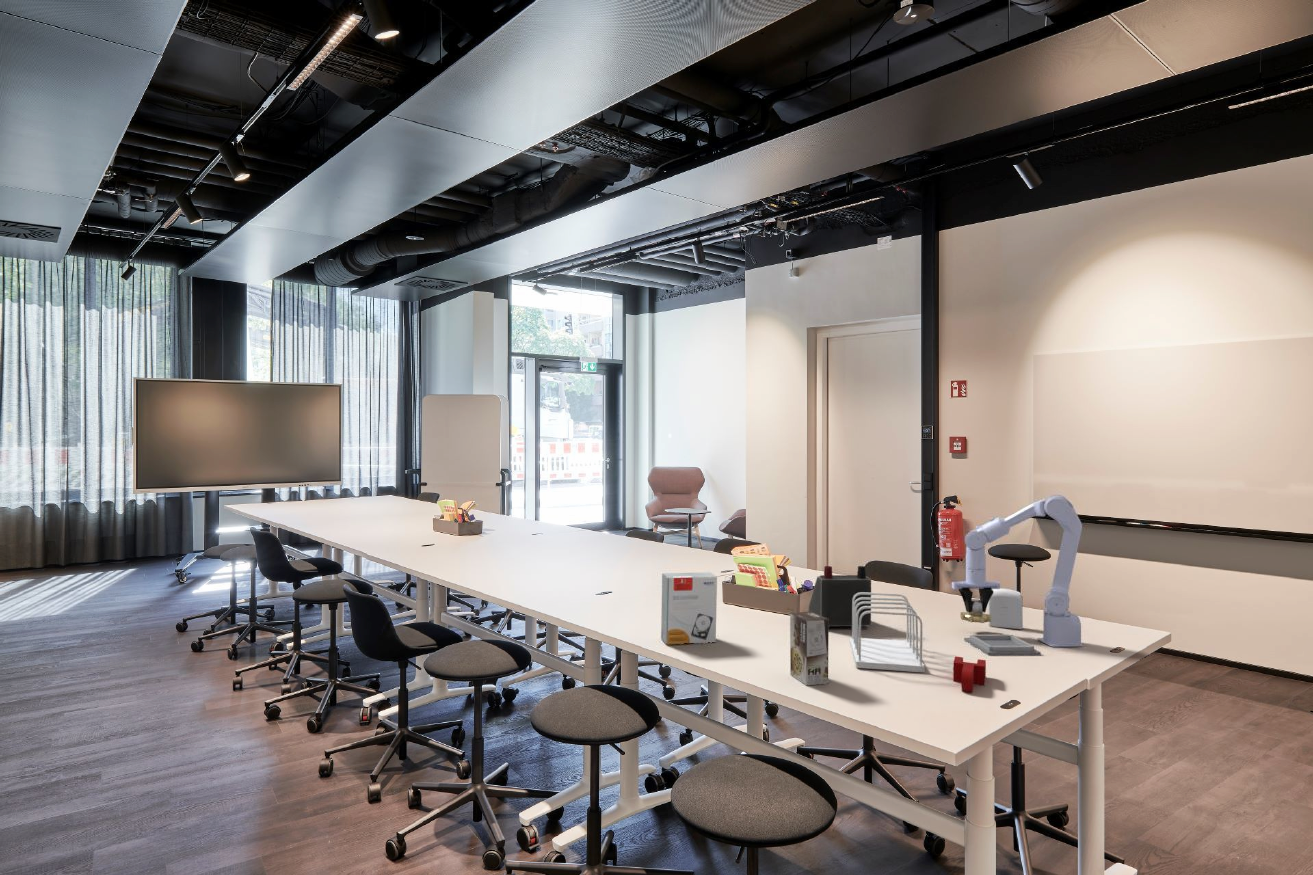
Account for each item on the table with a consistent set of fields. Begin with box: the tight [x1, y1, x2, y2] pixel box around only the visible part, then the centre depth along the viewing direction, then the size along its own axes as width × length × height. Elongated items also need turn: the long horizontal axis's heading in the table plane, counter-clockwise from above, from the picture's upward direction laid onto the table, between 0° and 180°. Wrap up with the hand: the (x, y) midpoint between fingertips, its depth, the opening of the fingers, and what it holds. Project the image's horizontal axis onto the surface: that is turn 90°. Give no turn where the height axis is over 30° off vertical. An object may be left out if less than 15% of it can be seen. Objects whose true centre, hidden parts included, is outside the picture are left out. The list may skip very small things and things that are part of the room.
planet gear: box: [960, 598, 991, 624], centre depth 228 cm, size 9×9×6 cm
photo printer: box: [987, 588, 1024, 630], centre depth 235 cm, size 10×4×12 cm, turn 63°
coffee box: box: [789, 610, 830, 686], centre depth 183 cm, size 9×6×16 cm
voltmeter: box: [808, 565, 872, 630], centre depth 239 cm, size 16×16×20 cm
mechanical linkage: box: [952, 655, 987, 694], centre depth 181 cm, size 16×7×5 cm, turn 154°
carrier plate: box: [963, 634, 1042, 656], centre depth 212 cm, size 15×15×2 cm
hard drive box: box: [660, 571, 718, 645], centre depth 218 cm, size 16×8×20 cm, turn 102°
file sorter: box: [848, 592, 926, 674], centre depth 202 cm, size 25×17×16 cm
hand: (975, 611), depth 228 cm, fingers closed on planet gear, 4 cm apart
